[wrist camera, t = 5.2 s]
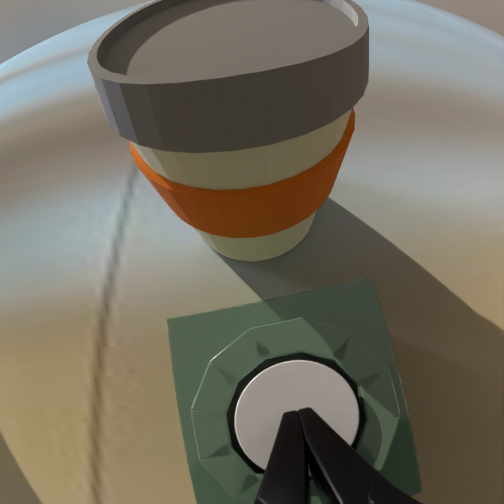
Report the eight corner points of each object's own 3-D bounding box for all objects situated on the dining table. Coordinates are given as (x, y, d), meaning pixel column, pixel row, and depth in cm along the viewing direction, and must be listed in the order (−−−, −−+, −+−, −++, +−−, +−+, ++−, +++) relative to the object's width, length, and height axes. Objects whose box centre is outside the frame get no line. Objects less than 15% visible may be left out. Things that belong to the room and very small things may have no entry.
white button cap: (356, 451, 10) (370, 459, 8) (252, 474, 10) (246, 487, 8) (335, 356, 12) (344, 346, 10) (233, 377, 12) (224, 372, 10)
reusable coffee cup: (262, 325, 20) (219, 147, 7) (141, 220, 25) (46, 62, 11) (369, 197, 24) (417, 15, 10) (248, 128, 28) (225, -27, 15)
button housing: (378, 466, 15) (443, 502, 7) (231, 498, 15) (192, 558, 7) (343, 318, 20) (382, 255, 12) (203, 347, 20) (149, 303, 12)
